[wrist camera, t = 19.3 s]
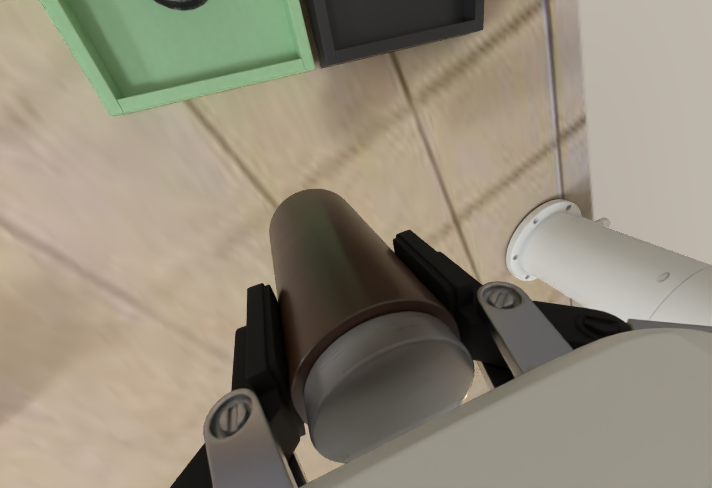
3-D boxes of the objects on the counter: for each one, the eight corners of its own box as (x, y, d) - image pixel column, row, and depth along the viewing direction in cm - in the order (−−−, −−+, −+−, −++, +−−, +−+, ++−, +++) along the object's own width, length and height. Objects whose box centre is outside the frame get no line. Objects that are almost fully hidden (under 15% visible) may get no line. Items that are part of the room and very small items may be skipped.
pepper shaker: (345, 176, 15) (489, 294, 6) (362, 251, 18) (483, 416, 9) (254, 205, 14) (260, 394, 5) (286, 279, 17) (329, 496, 8)
